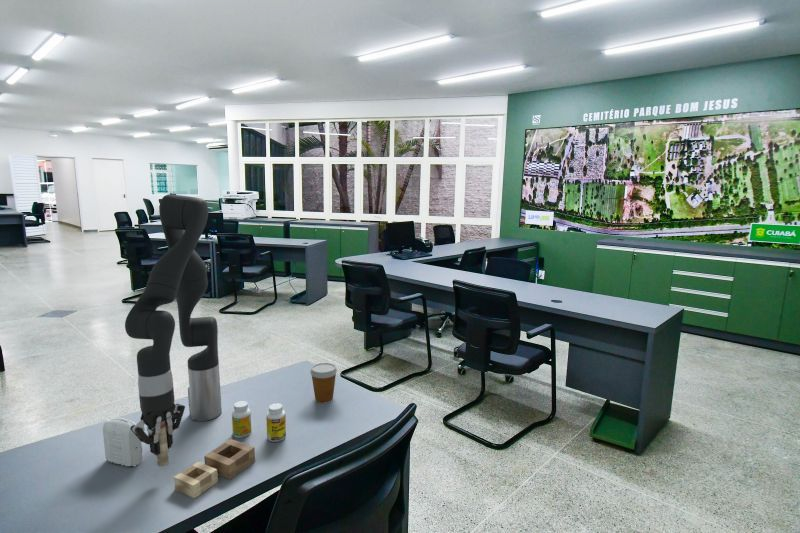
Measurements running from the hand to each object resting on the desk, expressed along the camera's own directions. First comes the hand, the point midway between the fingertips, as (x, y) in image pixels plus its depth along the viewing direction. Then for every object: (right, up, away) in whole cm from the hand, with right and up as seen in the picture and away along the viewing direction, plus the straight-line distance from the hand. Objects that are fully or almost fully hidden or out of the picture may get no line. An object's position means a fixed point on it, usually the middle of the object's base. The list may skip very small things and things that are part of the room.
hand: (162, 450), depth 111 cm
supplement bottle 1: (+12, -5, +23) cm, 26 cm away
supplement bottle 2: (+23, -5, +21) cm, 32 cm away
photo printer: (-15, -7, +8) cm, 18 cm away
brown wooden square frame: (+15, -7, +7) cm, 18 cm away
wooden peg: (0, -4, +1) cm, 4 cm away
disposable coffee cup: (+34, -1, +46) cm, 57 cm away
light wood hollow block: (+9, -8, -1) cm, 13 cm away
